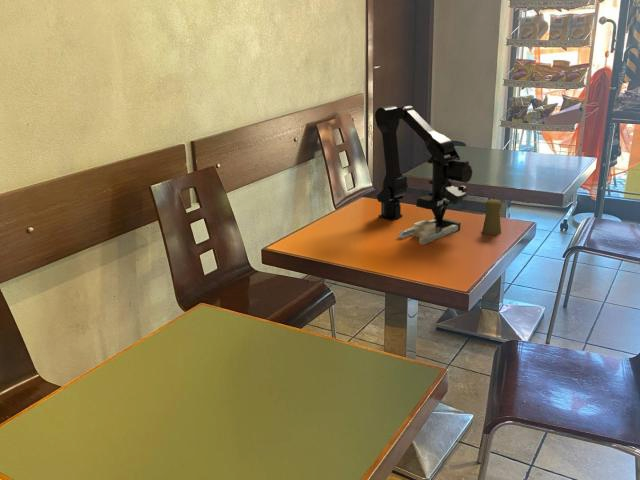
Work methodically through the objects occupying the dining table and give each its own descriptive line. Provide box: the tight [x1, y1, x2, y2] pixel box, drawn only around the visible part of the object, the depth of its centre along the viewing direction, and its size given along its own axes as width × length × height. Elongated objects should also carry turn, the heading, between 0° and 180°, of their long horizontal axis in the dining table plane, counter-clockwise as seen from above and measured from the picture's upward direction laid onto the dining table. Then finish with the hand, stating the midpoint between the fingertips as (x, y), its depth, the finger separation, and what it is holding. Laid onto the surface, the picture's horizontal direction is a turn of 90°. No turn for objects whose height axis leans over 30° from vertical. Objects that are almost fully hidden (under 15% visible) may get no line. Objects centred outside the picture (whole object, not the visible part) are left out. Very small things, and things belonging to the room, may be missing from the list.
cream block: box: [413, 219, 436, 238], centre depth 205 cm, size 5×5×4 cm
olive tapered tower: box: [481, 198, 503, 236], centre depth 205 cm, size 6×6×11 cm
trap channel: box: [398, 216, 462, 246], centre depth 207 cm, size 10×20×2 cm, turn 132°
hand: (439, 222), depth 210 cm, fingers closed
